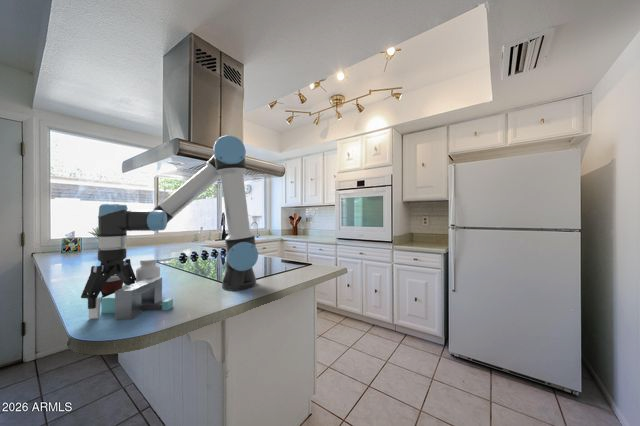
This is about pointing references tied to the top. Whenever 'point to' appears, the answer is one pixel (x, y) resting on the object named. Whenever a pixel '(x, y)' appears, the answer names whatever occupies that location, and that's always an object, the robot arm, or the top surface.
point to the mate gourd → (111, 286)
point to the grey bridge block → (137, 297)
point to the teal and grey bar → (167, 304)
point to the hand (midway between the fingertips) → (111, 309)
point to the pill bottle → (147, 269)
